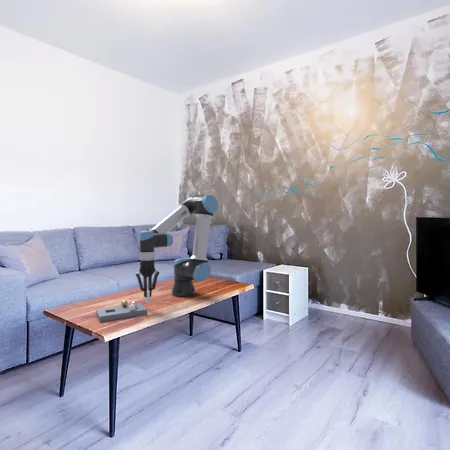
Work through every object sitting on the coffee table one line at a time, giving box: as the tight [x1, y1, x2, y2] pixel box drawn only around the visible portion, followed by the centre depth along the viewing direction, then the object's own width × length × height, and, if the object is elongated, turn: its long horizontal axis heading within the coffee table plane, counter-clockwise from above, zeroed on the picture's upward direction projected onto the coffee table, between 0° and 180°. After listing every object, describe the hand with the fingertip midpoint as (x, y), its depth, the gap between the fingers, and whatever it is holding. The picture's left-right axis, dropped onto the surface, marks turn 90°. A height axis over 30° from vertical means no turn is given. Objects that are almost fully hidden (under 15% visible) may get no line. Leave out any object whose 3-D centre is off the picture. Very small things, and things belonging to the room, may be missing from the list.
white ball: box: [129, 303, 136, 311], centre depth 163 cm, size 3×3×3 cm
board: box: [95, 302, 148, 323], centre depth 165 cm, size 23×14×2 cm, turn 118°
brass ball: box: [121, 299, 129, 306], centre depth 171 cm, size 3×3×3 cm
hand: (147, 302), depth 172 cm, fingers closed
